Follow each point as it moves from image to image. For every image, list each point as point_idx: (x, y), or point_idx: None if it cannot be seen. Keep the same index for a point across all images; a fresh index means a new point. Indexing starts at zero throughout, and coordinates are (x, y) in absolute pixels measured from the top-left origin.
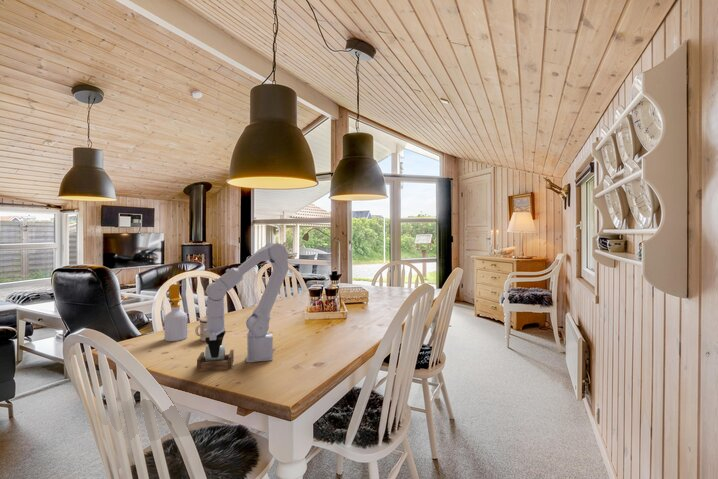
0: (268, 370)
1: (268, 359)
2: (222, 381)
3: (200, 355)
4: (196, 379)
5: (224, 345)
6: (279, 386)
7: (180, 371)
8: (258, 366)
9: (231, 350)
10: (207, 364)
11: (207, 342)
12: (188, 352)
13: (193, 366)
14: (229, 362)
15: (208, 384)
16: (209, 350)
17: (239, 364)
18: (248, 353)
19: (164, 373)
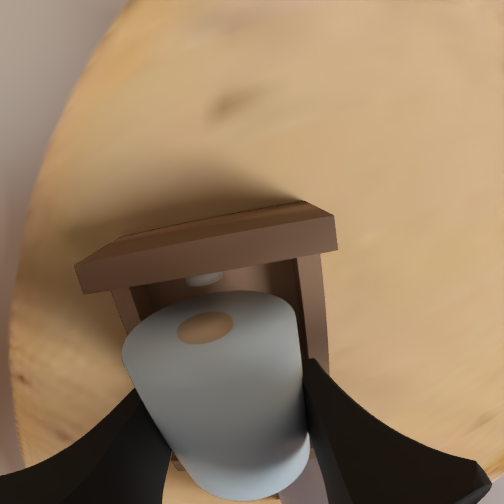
0: (181, 498)
1: (281, 499)
2: (49, 394)
3: (209, 249)
4: (31, 279)
5: (246, 498)
6: None
7: (136, 103)
8: None
9: None
10: (128, 327)
11: (17, 480)
12: (491, 64)
13: (235, 157)
14: None
15: (14, 348)
16: (145, 404)
17: None
18: (307, 482)
19: (119, 22)
